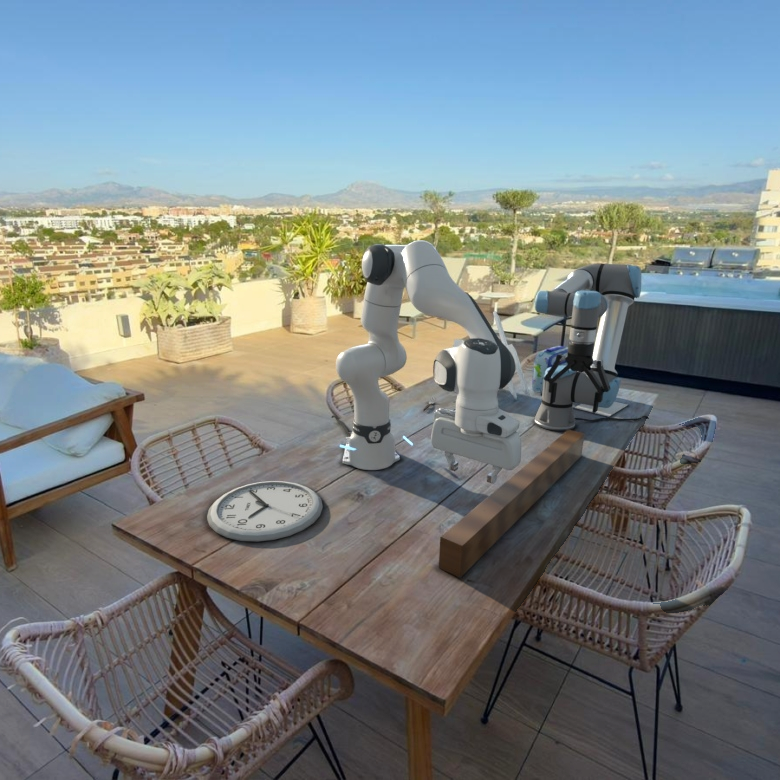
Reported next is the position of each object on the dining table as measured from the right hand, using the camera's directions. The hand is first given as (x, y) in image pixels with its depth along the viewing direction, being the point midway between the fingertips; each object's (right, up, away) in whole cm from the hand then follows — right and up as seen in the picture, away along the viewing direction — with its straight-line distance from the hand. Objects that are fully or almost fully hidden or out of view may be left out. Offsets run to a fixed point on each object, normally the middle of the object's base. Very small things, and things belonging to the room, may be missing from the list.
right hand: (573, 407), depth 167 cm
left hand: (-41, -13, -53) cm, 68 cm away
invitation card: (+33, -2, +59) cm, 67 cm away
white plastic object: (-17, +4, +76) cm, 78 cm away
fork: (-42, -2, +55) cm, 70 cm away
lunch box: (+18, +5, +80) cm, 82 cm away
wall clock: (-92, -27, -28) cm, 100 cm away
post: (-21, -26, -20) cm, 39 cm away
